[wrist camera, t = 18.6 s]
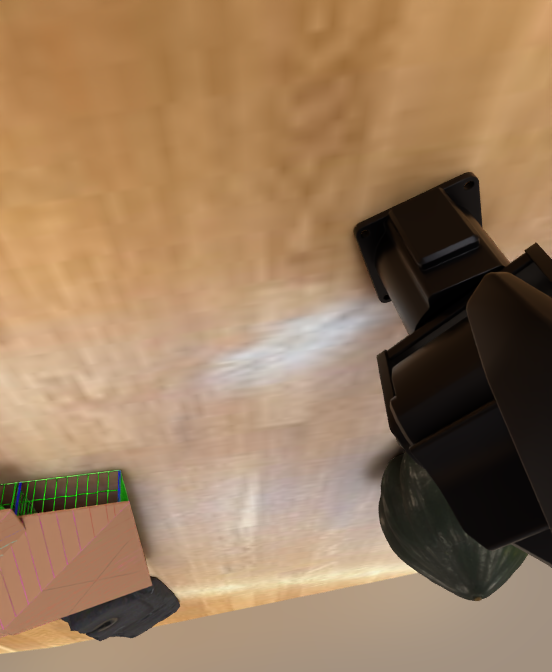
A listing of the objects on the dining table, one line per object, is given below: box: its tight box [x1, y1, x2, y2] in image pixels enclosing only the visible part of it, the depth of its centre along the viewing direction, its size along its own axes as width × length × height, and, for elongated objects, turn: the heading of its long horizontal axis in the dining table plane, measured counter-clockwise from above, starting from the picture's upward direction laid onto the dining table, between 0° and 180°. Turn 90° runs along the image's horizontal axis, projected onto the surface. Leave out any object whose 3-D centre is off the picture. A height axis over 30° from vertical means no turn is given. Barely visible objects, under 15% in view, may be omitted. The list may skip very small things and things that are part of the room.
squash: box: [379, 452, 528, 601], centre depth 46 cm, size 14×15×15 cm
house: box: [0, 470, 152, 638], centre depth 44 cm, size 23×33×8 cm
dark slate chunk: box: [60, 577, 180, 641], centre depth 69 cm, size 15×22×5 cm
